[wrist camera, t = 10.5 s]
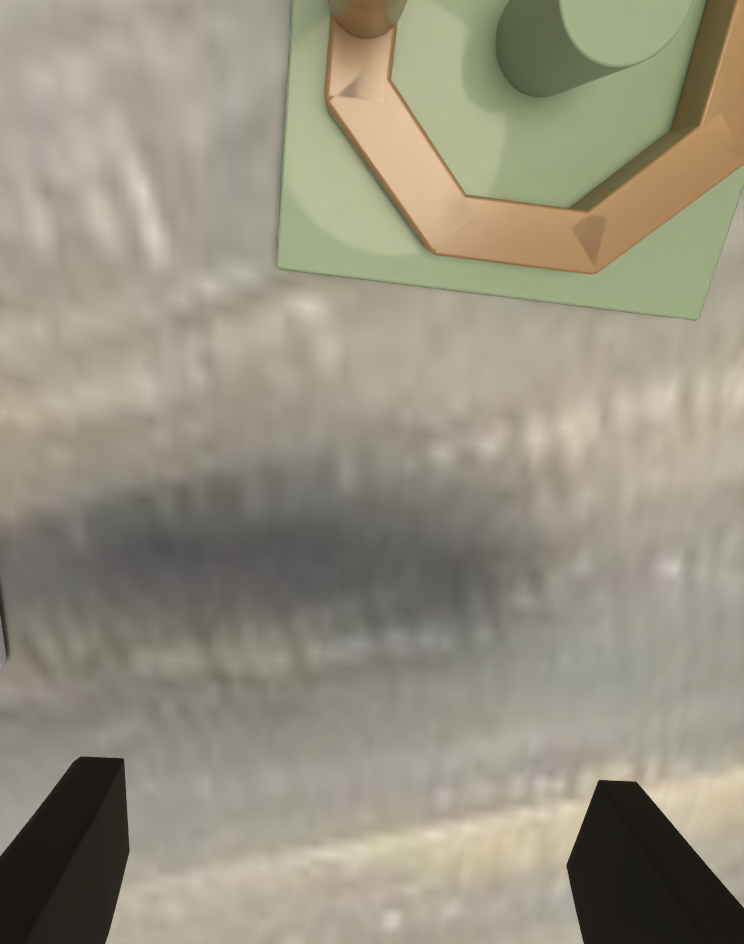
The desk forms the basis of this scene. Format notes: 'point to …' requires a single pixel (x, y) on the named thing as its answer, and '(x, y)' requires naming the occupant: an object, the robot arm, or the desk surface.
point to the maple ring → (525, 224)
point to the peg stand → (506, 144)
